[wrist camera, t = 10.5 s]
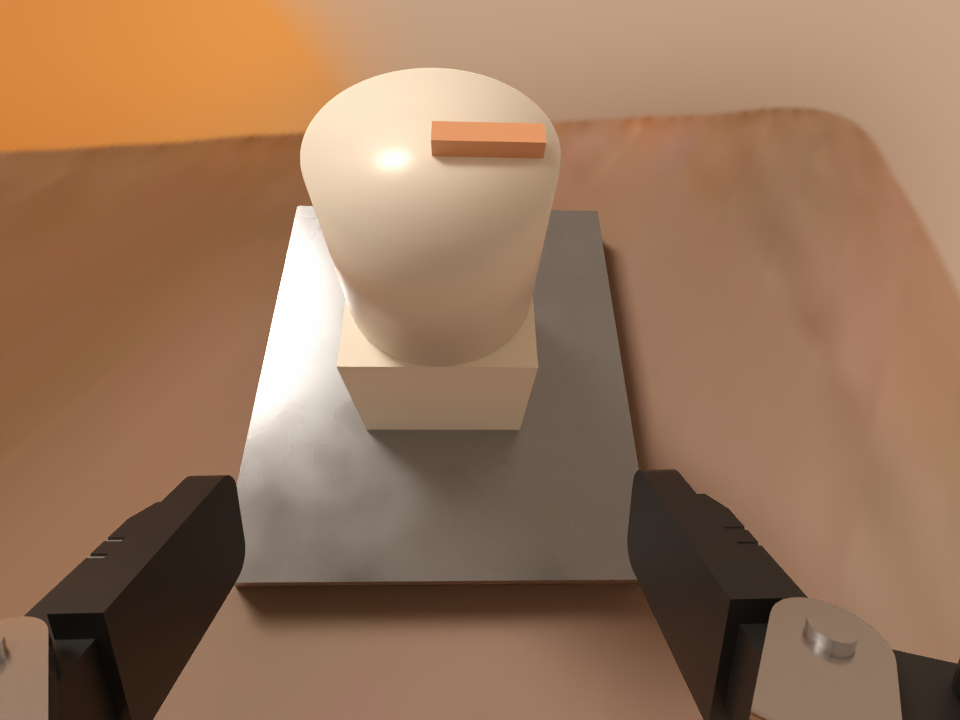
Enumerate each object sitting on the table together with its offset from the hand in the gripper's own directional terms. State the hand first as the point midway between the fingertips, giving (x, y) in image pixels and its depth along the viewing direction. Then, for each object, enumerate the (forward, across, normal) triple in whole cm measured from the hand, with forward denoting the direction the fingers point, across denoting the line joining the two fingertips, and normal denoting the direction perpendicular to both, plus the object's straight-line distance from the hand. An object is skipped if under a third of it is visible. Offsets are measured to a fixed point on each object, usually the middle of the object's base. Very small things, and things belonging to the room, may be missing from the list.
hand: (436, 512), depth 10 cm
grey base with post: (+11, 0, +1) cm, 11 cm away
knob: (+10, 0, 0) cm, 10 cm away
